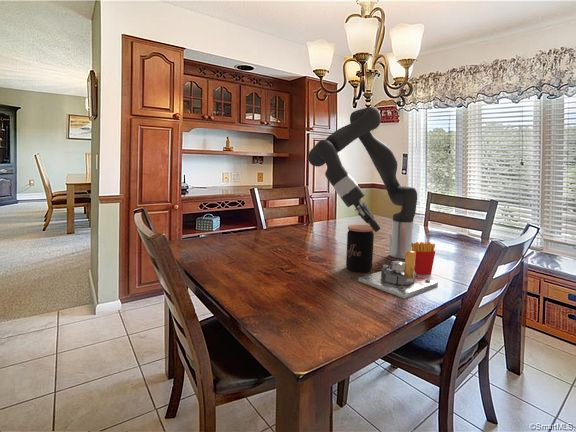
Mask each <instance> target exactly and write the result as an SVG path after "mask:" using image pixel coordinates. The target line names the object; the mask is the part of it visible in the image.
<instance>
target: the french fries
mask: <svg viewBox="0 0 576 432" xmlns="http://www.w3.org/2000/svg"><path fill="white" fill-rule="evenodd" d="M411 246H412V247H411V251H415V252H416V257H415V273H416V274H415V275H416V276H419V275H420V276H430V275H432V272H433V271H432V270H433V267H434V266H433V265H434V261H435V256H436V251H435V249H436V244H435V243H431V242H429V241H427V242H423V241H420V242H418V241H416V242H412V243H411Z"/></svg>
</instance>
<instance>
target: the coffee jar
mask: <svg viewBox="0 0 576 432" xmlns="http://www.w3.org/2000/svg"><path fill="white" fill-rule="evenodd" d="M346 234H347V235H346V236H347V237H346V238H347V239H346V256H345V257H346V258H345V259H346V260H345V261H346V262H345V265H346V266H345V267H346V268H347V270H348V271H350V272H352V273H360V274H364V273H368V272H370V271H371V270H372V269H373V258H374V257H373V256H374V255H373V254H374V241H375V240H374V239H375V237H374V236H375V232H374V230H373V229H372V227H371V226H370V225H369V224H368V225H367V224H350V225H347V233H346Z"/></svg>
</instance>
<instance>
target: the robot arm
mask: <svg viewBox="0 0 576 432" xmlns="http://www.w3.org/2000/svg"><path fill="white" fill-rule="evenodd" d="M349 122H350V123H349V124H346V125H345V126H342V127H340V128H338V129H336V130H335V131H333V132H332V133H331V134H330V135H328V136H327V137H326V138H325V139H320V140H319V141H318V142H316V144H315V145H314V146H313V147H312V148H311V149H310V151H309V152H308V154H307V155H308V156H307V160H308V162H309V164H310V165H311V166H313V167H317V168H319V167H323V166H324V165H325V164H326V168H327V169H326V170H325V172H324V173H325V174H324V176H325V178H326V180H328V182H329V183H330V184H331V186H332V187H333V188H334V191H335V192H336V193H337V195H338V196H339V198H340V199H341V201H343V203H344V204H345V206H346V207H347V208H350V207H351V206H353V207H355V209H354V210H355V212H356V213H357V215H358V216H359V217H360V218H362V220H363V221H364V222H365V223H366V224H368V225H369V226H371V227H372V229H373V232H374V233H376V232H379V231H380V230H381V226H380V225H379V224H378V222H377V221H376V219H375V217H374V214H373V213H372V211H371V210H370V208H369V207H368V204H367V202H366V201H364V202H363V201H362V198H364V197H365V196H366V194H365V192H364V191H363V190H362V188H361V187H360V186H359V185H358V183H357V182H356V180H355V179H354V177H352V176H351V174H349V172H348V171H347V169H345V167H344V166H343V164H342V161H341V158H340V155H339V152H341V151H342V150H344V149H345V148H347V146H349V145H350V144H351V143H353V142H354V141H355V140H357V139H359V141H360V142H361V144H362V145H363V147H364V149H365V151H366V152H367V154H368V156H369V158H370V159H371V161H372V163H373V166H374V167H375V170H376V171H377V173H378V174H379V177H380V178H381V180H382V182H383V184H384V187H385V189H386V193H387V195H388V197H389V199H390V201H391V202H392V204H393V205H395V206H399V207H401V208H400V209H401V210H400V211H399V212H397V213H394V214H393V215H392V226H391V227H392V228H391V234H390V236H389V243H388V245H389V246H388V255H389V256H390V257H392V258H395V259H398V260H399V259H403V260H405V255H406V251H408V250H411V251H412V246H411V243H413V229H414V219H415V216H416V211H417V203H418V192H417V190H416V188H415V187H413V186H412V187H411V186H405V185H404V186H403V185H401V184H400V183H399V180H398V179H397V171H398V160H397V158H396V156H395V155H394V151H392V149H391V148H390V147H389V146H388V145H386V144H385V143H384V142H383V141H381V140H380V139H378V138H377V137H376V136H374V134H373V133H372V131H375V129H378V128H379V126H380V125H381V122H382V117H381V113H380V110H379V109H378V108H377V107H375V106H368V107H365V108H361V109H357V110H354V111H353V112H352V113H350V116H349Z"/></svg>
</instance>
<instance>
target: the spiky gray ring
mask: <svg viewBox="0 0 576 432" xmlns="http://www.w3.org/2000/svg"><path fill="white" fill-rule="evenodd" d="M415 257H416V252H415V251H412V249H411V250H408V251H406V255H405V259H404V262H405V269H404V272H400V274H399V275H398V274H394V270H393V269H391V267H392V262H390V265H389V264H383V265H382V268H381V278H382V279H383V280H384V281H386V282H389V283H393V284H411V283H413V282H415V275H417V274H416V273H415Z"/></svg>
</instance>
